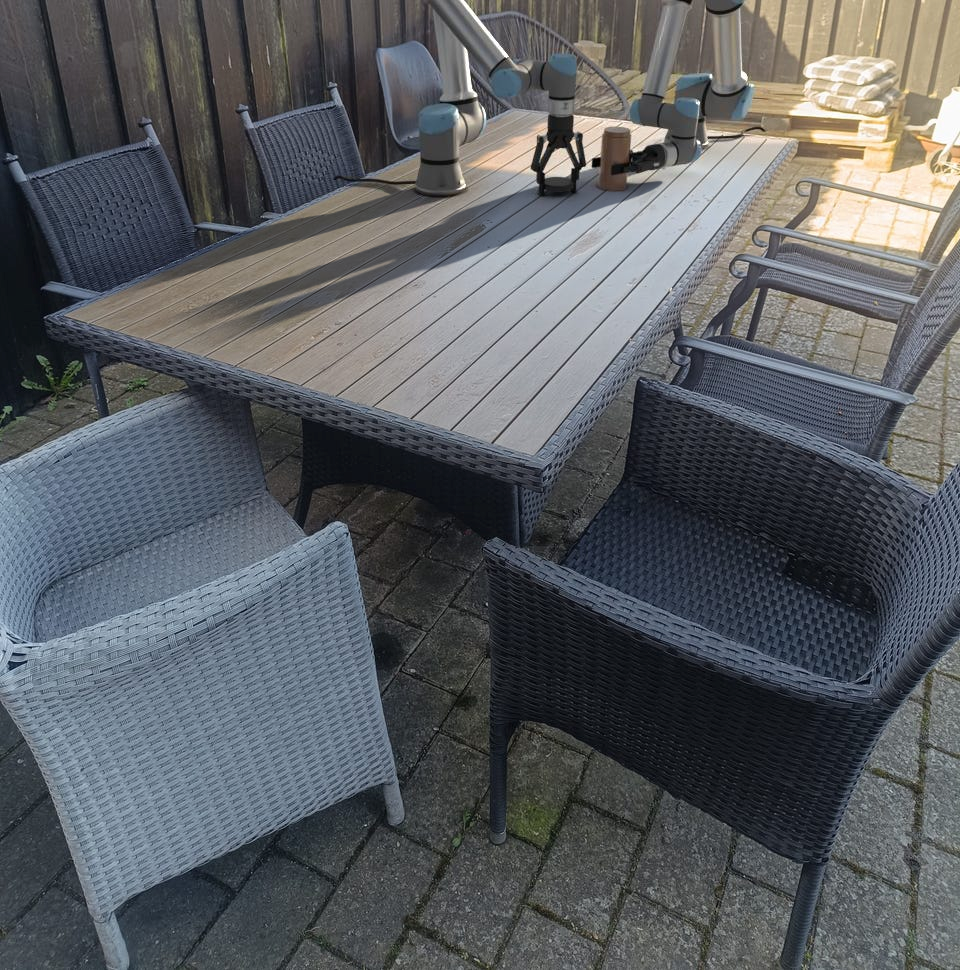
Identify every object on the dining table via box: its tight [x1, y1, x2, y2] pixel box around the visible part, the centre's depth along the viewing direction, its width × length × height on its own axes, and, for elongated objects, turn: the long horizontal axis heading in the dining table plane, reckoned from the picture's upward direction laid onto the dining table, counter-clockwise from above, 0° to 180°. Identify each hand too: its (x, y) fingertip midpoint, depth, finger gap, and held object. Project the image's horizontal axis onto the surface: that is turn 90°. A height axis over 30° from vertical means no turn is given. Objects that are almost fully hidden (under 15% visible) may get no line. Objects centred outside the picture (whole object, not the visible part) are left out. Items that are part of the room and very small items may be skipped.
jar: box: [597, 126, 632, 192], centre depth 256 cm, size 9×9×17 cm
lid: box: [544, 176, 574, 193], centre depth 254 cm, size 10×10×2 cm
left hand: (557, 192), depth 256 cm, fingers closed on lid, 10 cm apart
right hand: (602, 166), depth 255 cm, fingers closed on jar, 9 cm apart
